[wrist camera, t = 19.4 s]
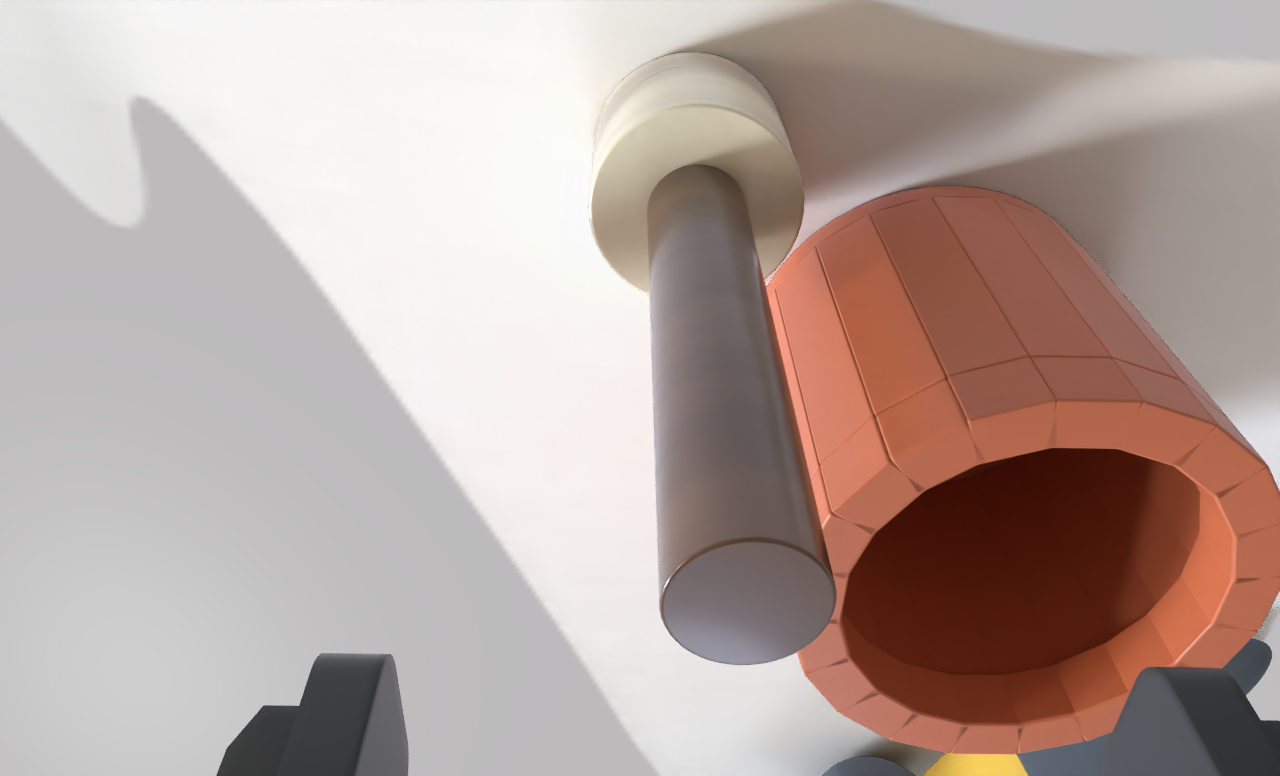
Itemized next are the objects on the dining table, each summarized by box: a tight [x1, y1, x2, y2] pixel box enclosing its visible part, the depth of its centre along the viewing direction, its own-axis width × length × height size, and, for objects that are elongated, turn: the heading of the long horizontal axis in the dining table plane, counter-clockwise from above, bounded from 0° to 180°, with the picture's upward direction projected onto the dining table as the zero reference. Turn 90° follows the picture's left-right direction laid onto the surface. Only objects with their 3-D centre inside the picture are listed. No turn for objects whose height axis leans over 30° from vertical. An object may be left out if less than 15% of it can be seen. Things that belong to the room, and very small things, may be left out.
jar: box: [766, 186, 1280, 755], centre depth 25 cm, size 10×10×10 cm
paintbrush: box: [822, 639, 1272, 776], centre depth 36 cm, size 20×5×5 cm, turn 128°
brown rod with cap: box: [588, 52, 837, 665], centre depth 19 cm, size 5×5×16 cm
